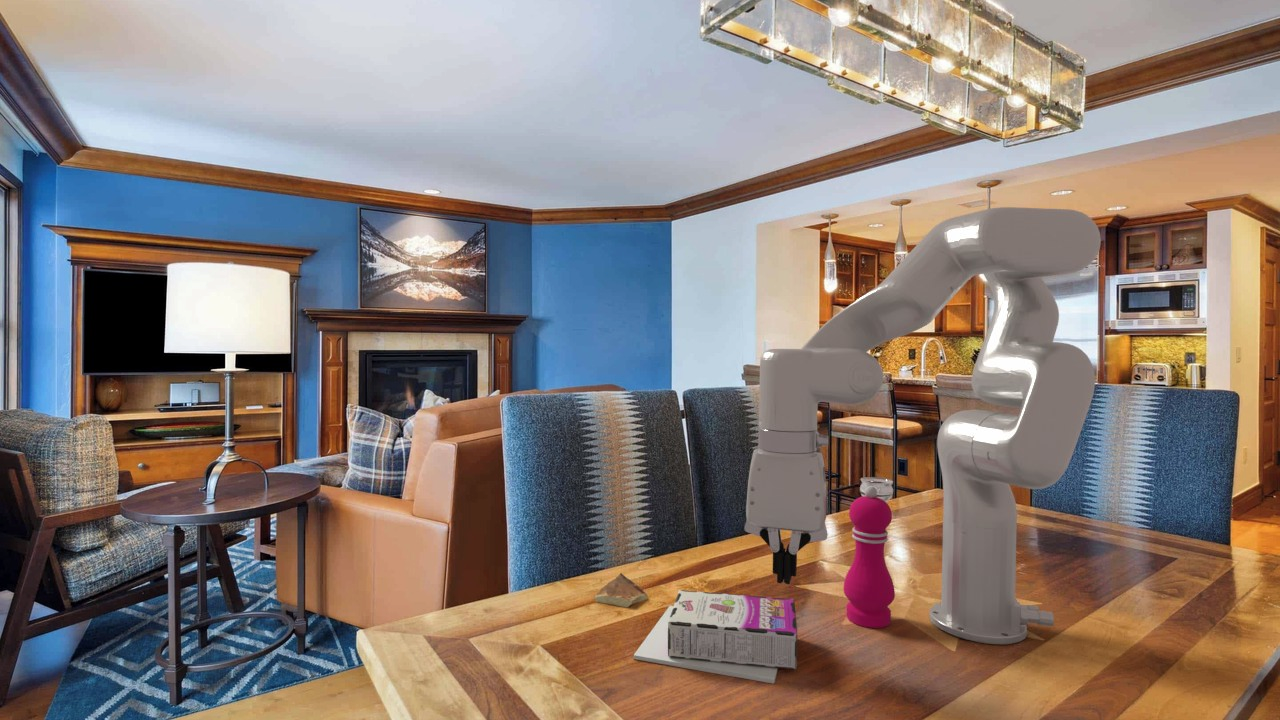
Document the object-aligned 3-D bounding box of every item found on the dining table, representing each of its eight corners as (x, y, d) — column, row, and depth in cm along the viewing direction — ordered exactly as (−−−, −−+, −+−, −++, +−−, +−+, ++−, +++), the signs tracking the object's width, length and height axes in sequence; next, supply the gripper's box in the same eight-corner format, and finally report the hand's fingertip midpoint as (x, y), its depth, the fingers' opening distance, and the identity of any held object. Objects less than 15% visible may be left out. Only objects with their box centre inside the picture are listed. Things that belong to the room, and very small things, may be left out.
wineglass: (897, 540, 136) (898, 484, 136) (865, 540, 136) (866, 483, 136) (885, 531, 143) (886, 477, 143) (854, 530, 143) (855, 476, 143)
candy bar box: (794, 633, 91) (678, 621, 94) (795, 598, 91) (679, 587, 94) (797, 673, 80) (665, 658, 83) (798, 633, 80) (666, 619, 83)
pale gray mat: (788, 626, 94) (788, 622, 94) (774, 683, 78) (774, 679, 78) (669, 608, 100) (669, 605, 100) (633, 659, 84) (633, 655, 84)
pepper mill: (888, 634, 92) (891, 494, 91) (837, 622, 96) (839, 487, 95) (898, 616, 98) (901, 485, 97) (849, 605, 102) (852, 479, 101)
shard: (620, 581, 113) (620, 571, 113) (661, 588, 110) (661, 577, 110) (592, 604, 103) (592, 593, 103) (636, 612, 100) (637, 601, 100)
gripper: (847, 442, 87) (843, 578, 87) (735, 435, 91) (733, 564, 92) (846, 450, 79) (842, 598, 80) (725, 442, 84) (723, 582, 85)
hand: (784, 579), depth 86 cm, fingers closed
